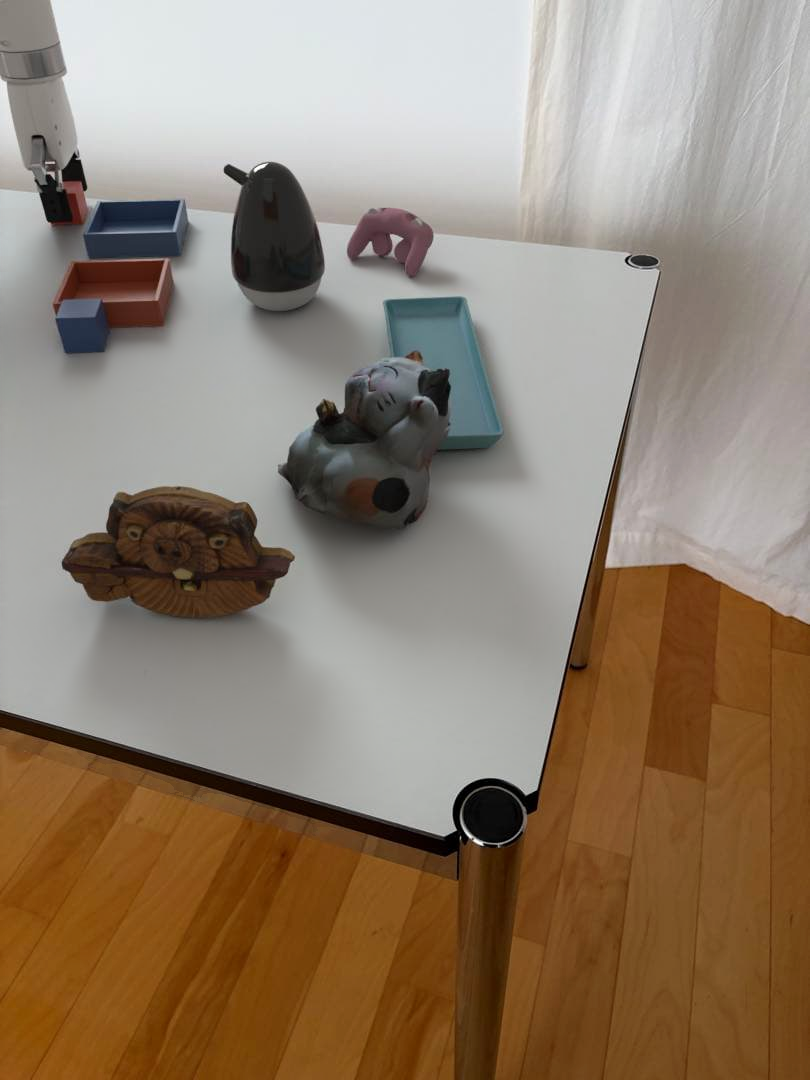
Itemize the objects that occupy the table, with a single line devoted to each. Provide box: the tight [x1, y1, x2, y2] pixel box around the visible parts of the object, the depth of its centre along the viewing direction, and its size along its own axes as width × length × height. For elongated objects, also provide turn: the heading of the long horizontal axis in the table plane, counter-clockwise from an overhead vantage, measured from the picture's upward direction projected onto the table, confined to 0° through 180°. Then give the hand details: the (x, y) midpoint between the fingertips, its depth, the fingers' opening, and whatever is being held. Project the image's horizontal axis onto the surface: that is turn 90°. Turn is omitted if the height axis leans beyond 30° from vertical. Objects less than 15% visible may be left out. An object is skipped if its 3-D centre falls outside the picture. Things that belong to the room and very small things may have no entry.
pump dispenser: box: [223, 161, 326, 312], centre depth 96 cm, size 10×10×15 cm
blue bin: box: [82, 198, 189, 259], centre depth 112 cm, size 11×10×3 cm
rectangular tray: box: [382, 295, 505, 451], centre depth 89 cm, size 26×9×2 cm, turn 5°
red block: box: [50, 181, 89, 226], centre depth 116 cm, size 4×4×4 cm
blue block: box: [54, 299, 111, 354], centre depth 93 cm, size 4×4×4 cm
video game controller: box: [346, 207, 435, 277], centre depth 107 cm, size 10×5×7 cm, turn 58°
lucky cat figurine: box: [277, 350, 451, 530], centre depth 73 cm, size 15×12×14 cm
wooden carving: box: [61, 485, 296, 619], centre depth 64 cm, size 16×5×10 cm, turn 90°
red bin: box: [52, 258, 174, 328], centre depth 99 cm, size 11×10×3 cm
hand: (68, 205), depth 116 cm, fingers open, 9 cm apart
